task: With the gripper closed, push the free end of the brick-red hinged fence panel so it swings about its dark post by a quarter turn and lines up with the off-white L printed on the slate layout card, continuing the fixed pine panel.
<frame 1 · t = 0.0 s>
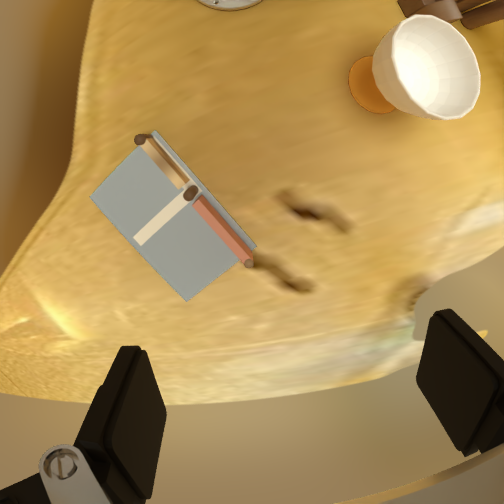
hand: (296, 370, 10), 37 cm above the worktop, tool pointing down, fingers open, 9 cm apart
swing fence: (224, 231, 44), point 3 cm above the worktop, hinge at 0.0°
wooden toy: (438, 14, 36), on the worktop
layout card: (170, 220, 46), on the worktop
cup: (376, 84, 40), on the worktop
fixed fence: (193, 189, 44), resting on layout card
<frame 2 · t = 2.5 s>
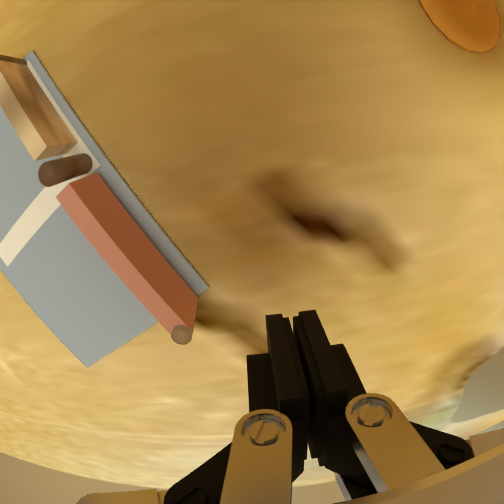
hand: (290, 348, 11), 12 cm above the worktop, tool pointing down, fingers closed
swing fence: (133, 256, 19), point 3 cm above the worktop, hinge at 0.0°
layout card: (46, 222, 20), on the worktop
cup: (458, 2, 15), on the worktop
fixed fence: (85, 163, 19), resting on layout card
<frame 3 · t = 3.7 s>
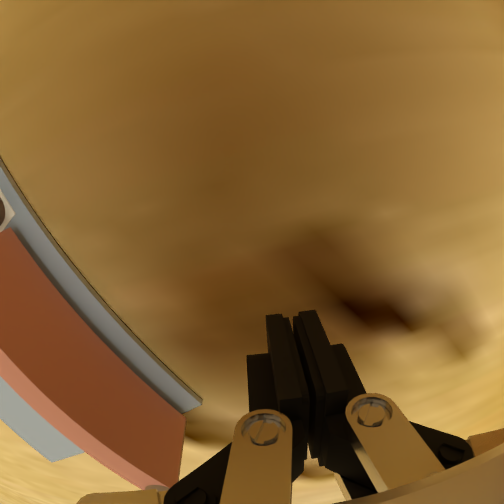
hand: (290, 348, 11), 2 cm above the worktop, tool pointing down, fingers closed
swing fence: (71, 378, 9), point 3 cm above the worktop, hinge at 0.0°
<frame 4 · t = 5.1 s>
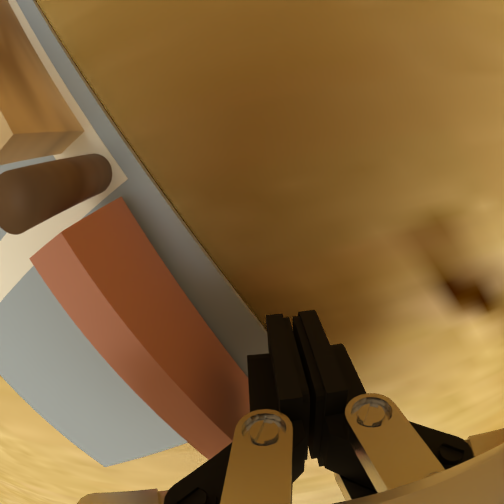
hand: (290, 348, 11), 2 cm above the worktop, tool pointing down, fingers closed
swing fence: (191, 375, 9), point 3 cm above the worktop, hinge at -4.4°, touching gripper
layout card: (28, 275, 11), on the worktop
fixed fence: (97, 172, 10), resting on layout card
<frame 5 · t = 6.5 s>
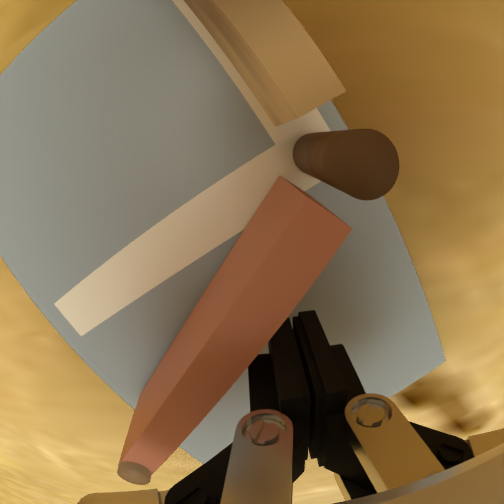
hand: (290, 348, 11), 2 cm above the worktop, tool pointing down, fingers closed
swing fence: (201, 354, 10), point 3 cm above the worktop, hinge at -65.4°, touching gripper
layout card: (192, 262, 12), on the worktop
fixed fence: (311, 153, 10), resting on layout card
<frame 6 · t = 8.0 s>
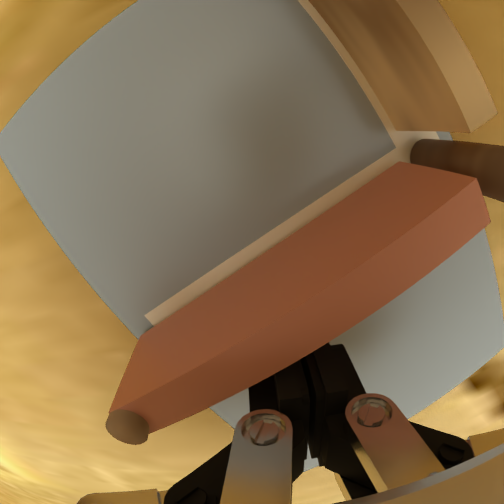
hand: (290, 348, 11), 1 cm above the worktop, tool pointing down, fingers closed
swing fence: (275, 302, 9), point 3 cm above the worktop, hinge at -89.3°, touching gripper
layout card: (311, 263, 11), on the worktop
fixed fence: (421, 157, 10), resting on layout card
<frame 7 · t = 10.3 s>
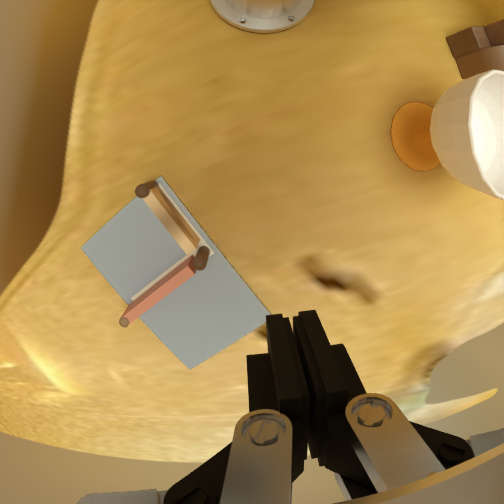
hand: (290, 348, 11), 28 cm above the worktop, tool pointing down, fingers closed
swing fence: (157, 292, 37), point 3 cm above the worktop, hinge at -89.3°
wooden toy: (485, 56, 32), on the worktop
layout card: (174, 282, 39), on the worktop
cup: (419, 136, 36), on the worktop
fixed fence: (204, 250, 38), resting on layout card
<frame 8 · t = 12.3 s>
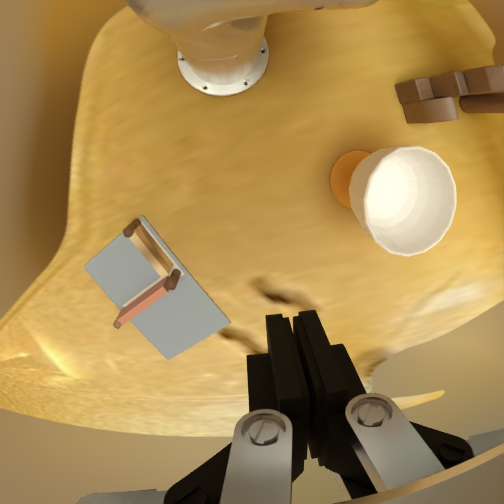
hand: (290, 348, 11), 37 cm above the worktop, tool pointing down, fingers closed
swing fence: (141, 303, 48), point 3 cm above the worktop, hinge at -89.3°
wooden toy: (436, 98, 42), on the worktop
layout card: (155, 294, 51), on the worktop
cup: (357, 179, 46), on the worktop
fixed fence: (176, 272, 50), resting on layout card
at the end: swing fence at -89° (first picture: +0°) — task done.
